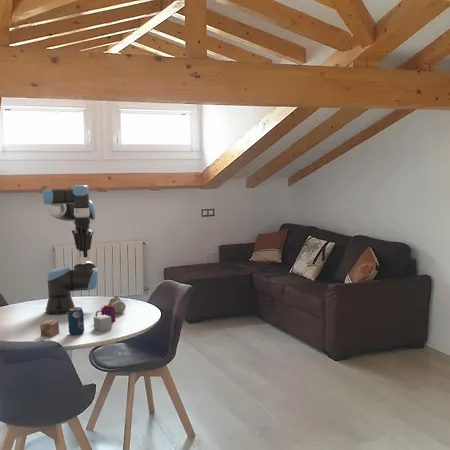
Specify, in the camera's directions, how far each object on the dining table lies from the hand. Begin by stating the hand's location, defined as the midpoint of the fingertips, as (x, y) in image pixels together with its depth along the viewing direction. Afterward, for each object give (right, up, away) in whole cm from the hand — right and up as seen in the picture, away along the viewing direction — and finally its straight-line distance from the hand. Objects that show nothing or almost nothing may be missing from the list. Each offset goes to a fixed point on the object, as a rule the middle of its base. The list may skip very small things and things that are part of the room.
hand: (84, 263), depth 283 cm
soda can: (+1, -32, -18) cm, 37 cm away
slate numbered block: (+12, -31, -11) cm, 35 cm away
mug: (+10, -29, +2) cm, 31 cm away
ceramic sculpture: (+12, -27, +22) cm, 37 cm away
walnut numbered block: (-11, -32, -19) cm, 39 cm away
